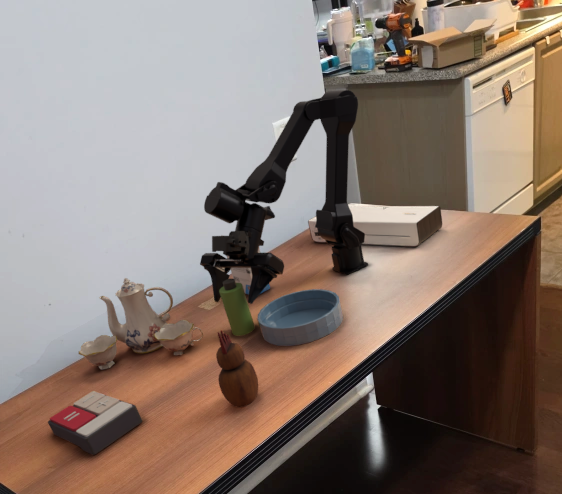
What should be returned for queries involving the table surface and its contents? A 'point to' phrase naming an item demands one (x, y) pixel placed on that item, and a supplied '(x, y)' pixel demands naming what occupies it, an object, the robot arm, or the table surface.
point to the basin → (300, 317)
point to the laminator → (391, 224)
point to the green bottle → (236, 307)
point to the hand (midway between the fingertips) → (232, 302)
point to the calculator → (95, 421)
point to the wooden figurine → (235, 373)
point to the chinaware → (138, 328)
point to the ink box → (245, 277)
